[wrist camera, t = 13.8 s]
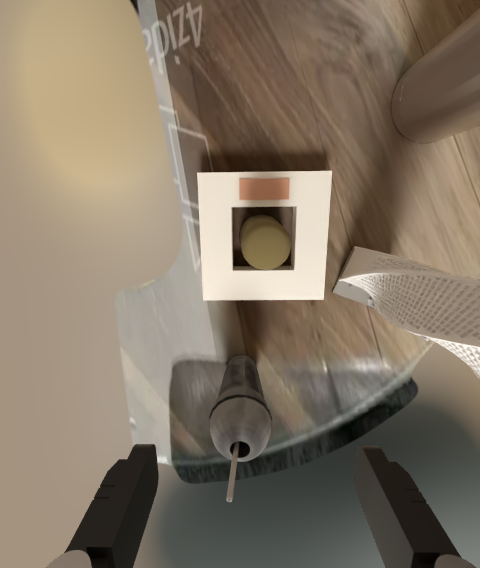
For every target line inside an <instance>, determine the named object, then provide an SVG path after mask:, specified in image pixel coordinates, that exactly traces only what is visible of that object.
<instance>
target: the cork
mask: <svg viewBox="0 0 480 568" xmlns="http://www.w3.org/2000/svg"><path fill="white" fill-rule="evenodd" d="M239 240H240V244H241V247H242V253H243V255H244V258H245V259H246V261H247V262H248V263H249V264H250V265H252V266H253V267H255V268H257V269H261V270H271V269H274V268H276V267H279V266H280V265H281V264H282V263H284V262H285V260H286V259H287V257H288V256H289V253H290V250H291V239H290V236H289V234H288V232H287V230H286V229H285V228H284V227H283V226H282V225H280V224H279V223H278V222H277V220H276V219H274V218H272V217H271V216H268V215H264V214H262V215H255V216H253V217H250V218H249V219H248V220H247V221H245V222H244V224H243V226H242V227H241V229H240V234H239Z"/></svg>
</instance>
